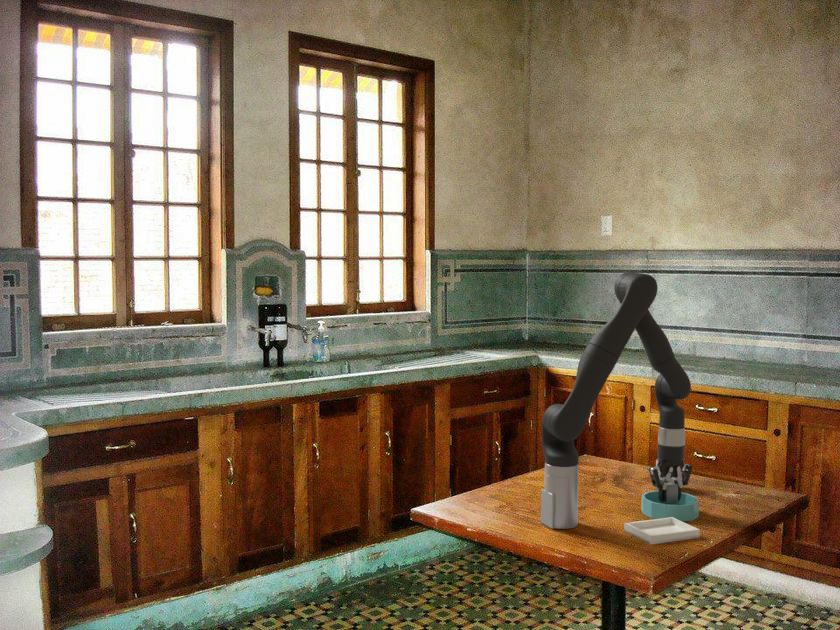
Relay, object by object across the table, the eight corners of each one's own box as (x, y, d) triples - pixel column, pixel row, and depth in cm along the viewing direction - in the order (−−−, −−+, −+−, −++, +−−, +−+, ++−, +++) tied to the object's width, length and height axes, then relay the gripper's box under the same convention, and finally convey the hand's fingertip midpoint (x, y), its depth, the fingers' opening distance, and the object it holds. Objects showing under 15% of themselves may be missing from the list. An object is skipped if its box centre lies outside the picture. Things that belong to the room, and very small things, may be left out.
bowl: (664, 523, 240) (664, 508, 240) (631, 508, 255) (631, 493, 254) (709, 518, 246) (710, 502, 246) (674, 503, 260) (675, 488, 260)
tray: (650, 544, 223) (650, 536, 223) (624, 531, 234) (624, 523, 234) (699, 537, 229) (699, 529, 229) (671, 524, 240) (672, 517, 239)
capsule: (668, 504, 247) (668, 487, 247) (658, 500, 251) (659, 483, 251) (681, 502, 249) (681, 485, 248) (671, 498, 253) (671, 482, 252)
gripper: (658, 447, 243) (657, 506, 244) (700, 443, 248) (698, 501, 249) (642, 441, 250) (641, 499, 251) (683, 438, 255) (681, 495, 256)
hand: (669, 500), depth 250 cm, fingers closed on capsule, 4 cm apart
